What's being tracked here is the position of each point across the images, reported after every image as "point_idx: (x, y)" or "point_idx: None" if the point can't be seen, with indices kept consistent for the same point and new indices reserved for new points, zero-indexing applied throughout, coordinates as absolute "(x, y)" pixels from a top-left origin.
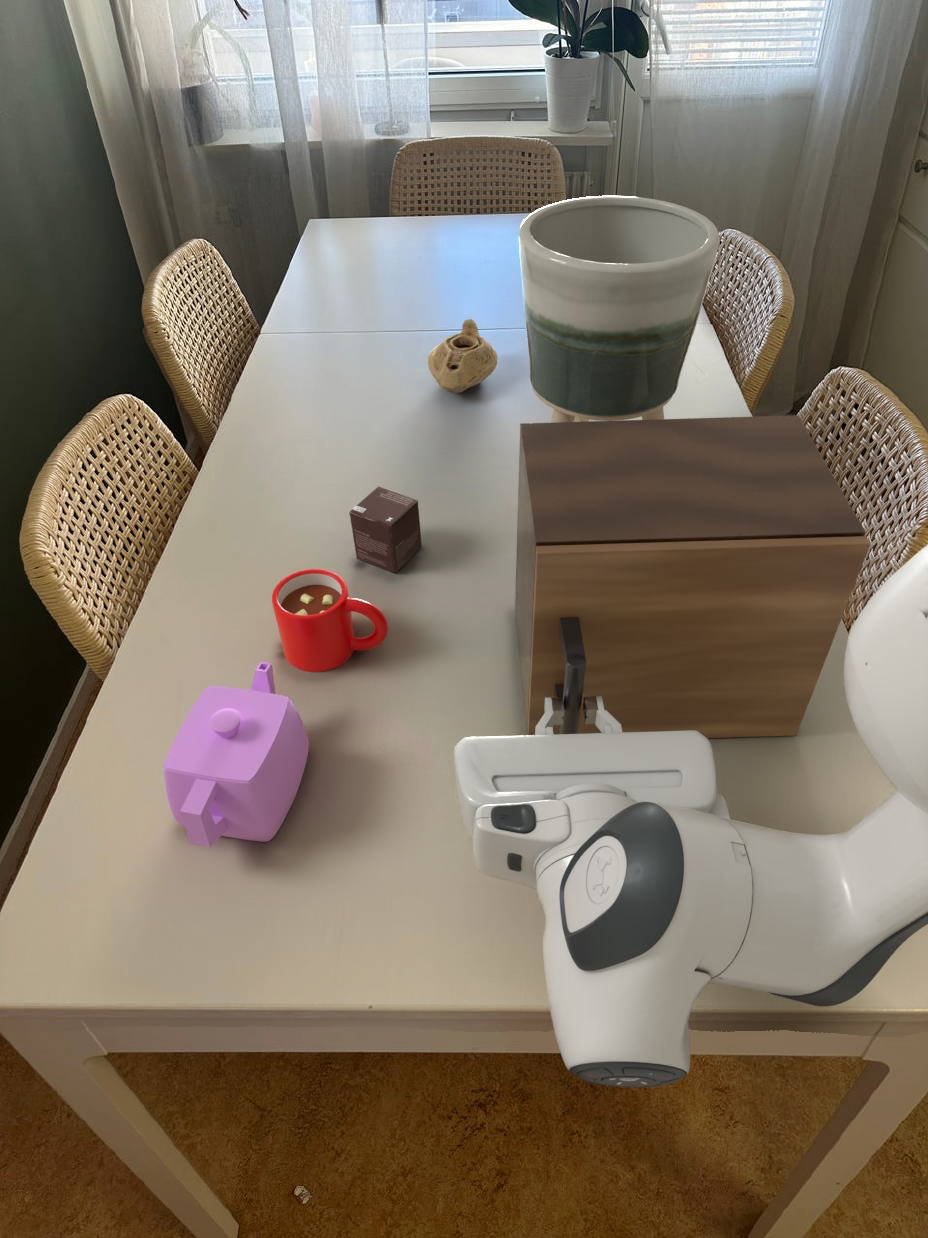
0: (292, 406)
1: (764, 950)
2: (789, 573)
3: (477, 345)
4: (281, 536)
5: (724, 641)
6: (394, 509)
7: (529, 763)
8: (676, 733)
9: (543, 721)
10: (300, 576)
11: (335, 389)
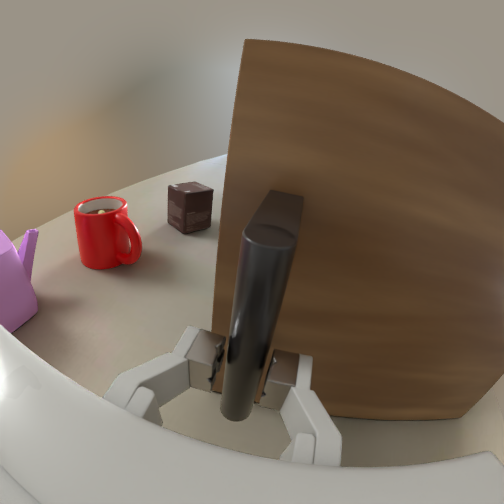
0: (190, 175)
1: None
2: None
3: None
4: (139, 206)
5: (481, 306)
6: (195, 189)
7: (19, 446)
8: (465, 465)
9: (145, 370)
10: (106, 199)
11: (213, 175)
